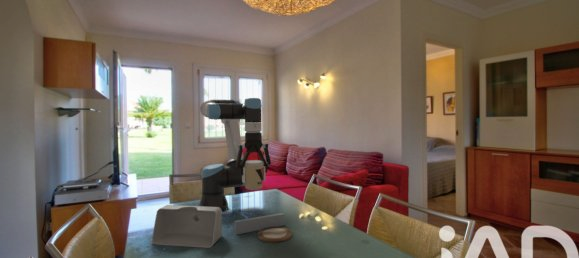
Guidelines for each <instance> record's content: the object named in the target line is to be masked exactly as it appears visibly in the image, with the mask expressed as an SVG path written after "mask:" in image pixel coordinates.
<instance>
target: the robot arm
mask: <svg viewBox="0 0 579 258" xmlns="http://www.w3.org/2000/svg"><path fill="white" fill-rule="evenodd" d="M199 109H200V110H199V111H200V113H201V115H202V116H203V117H205V118H208V119H209V120H215V121H216V120H220V123H222V124H223V127H224V134H225V143H226V152H227V159H228V161H227V162H226V163H225V165H224V164H223V163H216V164H215V163H214V164H210V165H206V166H204V167H203V168H202V169H201V176H200V177H201V198H200V200H199V204H198V206H205V207H220V208H221V210H222V212H223V211H225V210H227V209H228V208H229V203H228V200H227V197H226V195H225V189H227V188H238V187H241V188H242V187H245V168H244V165H245V163H246V161H248V159H249V156H250V154H251V153H252V154H253V153H256V154H257V155H258V156H259V160H260V161H263V163H264V164H263V165H264V166H263V182H266V174H267V173H268V167H269V165H272V161H271V156H270V153H269V144H268V143H263V142H262V135H263V133H262V100H261V98H259V97H247V98H245V99H244V103H241V102H240V101H239V100H237V99H215V98H213V99H209V100H206V101H204V102H202V104H201V105H200V107H199ZM241 120H244V131H245V133H244V144H242V138H241V132H240V125H239V124H240V123H239V122H240V121H241ZM262 148H263V152H264V154H263V152H262V150H261V149H262ZM244 149H246V150H245V153H244V151H243V150H244Z"/></svg>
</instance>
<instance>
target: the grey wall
mask: <svg viewBox="0 0 579 258" xmlns="http://www.w3.org/2000/svg"><path fill="white" fill-rule="evenodd" d="M284 226H285V213H283V212H279V213H274V214H268V215H263V216H256V217H255V216H254V217H250V218H244V219H238V220H234V234H235V235H240V234H245V233H250V232H251V233H252V232H257V231H260V230H262V229H264V228H268V227H284Z"/></svg>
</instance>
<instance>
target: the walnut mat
mask: <svg viewBox="0 0 579 258" xmlns="http://www.w3.org/2000/svg"><path fill="white" fill-rule="evenodd" d="M292 236H293V233H292V231H291V229H289V228H286V227H284V226H278V227H268V228H264V229H262V230H258V232H257V238H258V240H260V241H262V242H265V243H271V244H273V243H275V244H277V243H278V244H279V243H283V242H285V241H288V240H290V239H291V238H292Z"/></svg>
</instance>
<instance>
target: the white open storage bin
mask: <svg viewBox="0 0 579 258" xmlns="http://www.w3.org/2000/svg"><path fill="white" fill-rule="evenodd" d="M222 215H223V211H222V210H221V208H220V207H205V206H199V205H198V206H197V205H179V204H178V205H175V204H167V205H164V206H162V207H160V208H159V209H157V211H156V214H155V220H154V226H153V231H152V236H151V243H152V245H161V246H162V245H163V246H175V247H177V246H178V247H190V248H192V247H194V248H207V249H210V248H212V247H213V246H214V244H216V242H217V241H219V239H221V237H222V236H223V216H222Z"/></svg>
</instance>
